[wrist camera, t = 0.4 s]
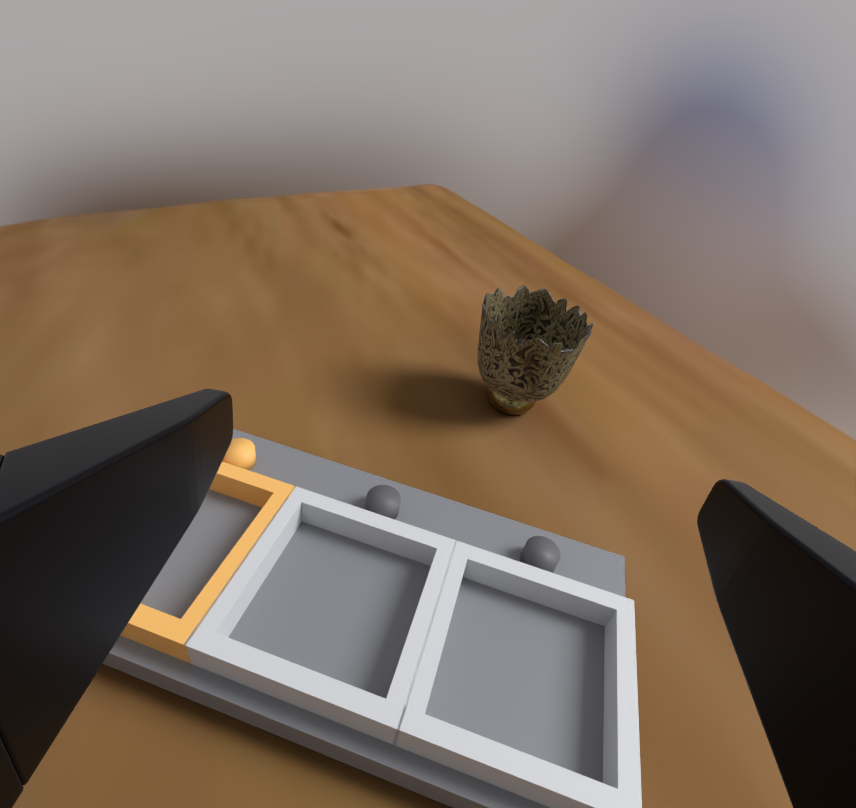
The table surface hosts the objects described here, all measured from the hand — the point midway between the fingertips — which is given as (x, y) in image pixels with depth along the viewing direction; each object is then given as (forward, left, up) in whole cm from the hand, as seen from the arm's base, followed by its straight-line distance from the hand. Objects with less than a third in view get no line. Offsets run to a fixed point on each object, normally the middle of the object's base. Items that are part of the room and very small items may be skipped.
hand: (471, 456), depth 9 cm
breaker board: (+6, +4, -17) cm, 18 cm away
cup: (+25, -1, -17) cm, 30 cm away
